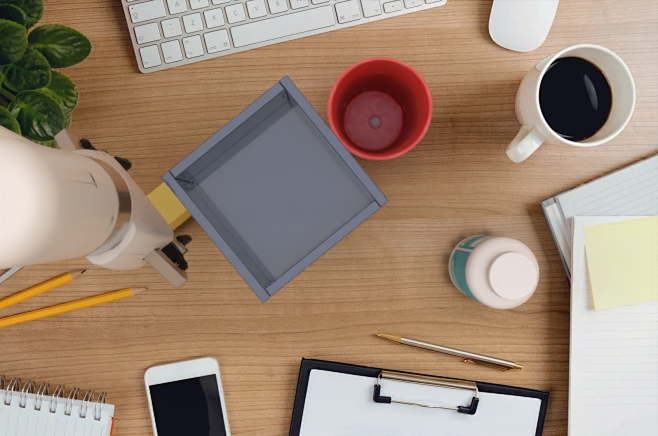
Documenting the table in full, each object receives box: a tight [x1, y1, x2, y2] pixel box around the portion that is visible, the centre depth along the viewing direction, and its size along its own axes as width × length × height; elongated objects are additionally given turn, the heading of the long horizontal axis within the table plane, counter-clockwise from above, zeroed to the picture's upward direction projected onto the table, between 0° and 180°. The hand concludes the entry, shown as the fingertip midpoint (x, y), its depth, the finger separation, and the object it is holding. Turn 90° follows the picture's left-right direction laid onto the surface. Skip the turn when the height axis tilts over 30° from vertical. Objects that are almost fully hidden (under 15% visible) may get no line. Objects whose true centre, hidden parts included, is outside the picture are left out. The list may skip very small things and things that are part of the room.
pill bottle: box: [448, 234, 540, 310], centre depth 66 cm, size 8×7×14 cm
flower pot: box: [326, 56, 434, 162], centre depth 67 cm, size 11×11×10 cm
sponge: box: [146, 181, 192, 231], centre depth 70 cm, size 4×5×6 cm
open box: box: [160, 74, 390, 304], centre depth 50 cm, size 13×13×5 cm
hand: (149, 209), depth 62 cm, fingers open, 9 cm apart
